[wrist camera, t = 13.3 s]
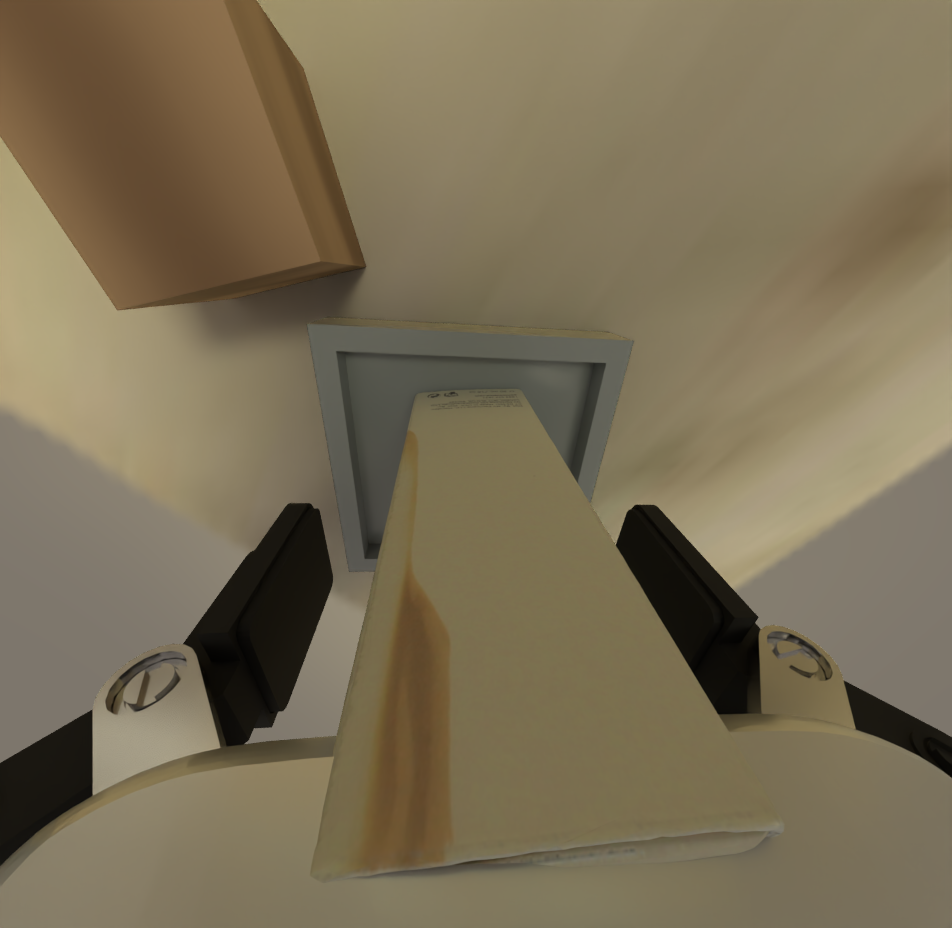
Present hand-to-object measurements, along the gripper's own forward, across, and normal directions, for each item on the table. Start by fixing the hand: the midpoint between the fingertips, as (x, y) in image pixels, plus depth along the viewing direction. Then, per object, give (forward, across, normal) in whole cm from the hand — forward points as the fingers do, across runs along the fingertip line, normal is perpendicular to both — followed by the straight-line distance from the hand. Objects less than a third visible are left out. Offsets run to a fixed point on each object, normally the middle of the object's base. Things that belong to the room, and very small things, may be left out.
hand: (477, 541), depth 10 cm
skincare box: (+5, 0, 0) cm, 5 cm away
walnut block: (+6, +7, -9) cm, 13 cm away
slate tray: (+6, 0, 0) cm, 6 cm away
